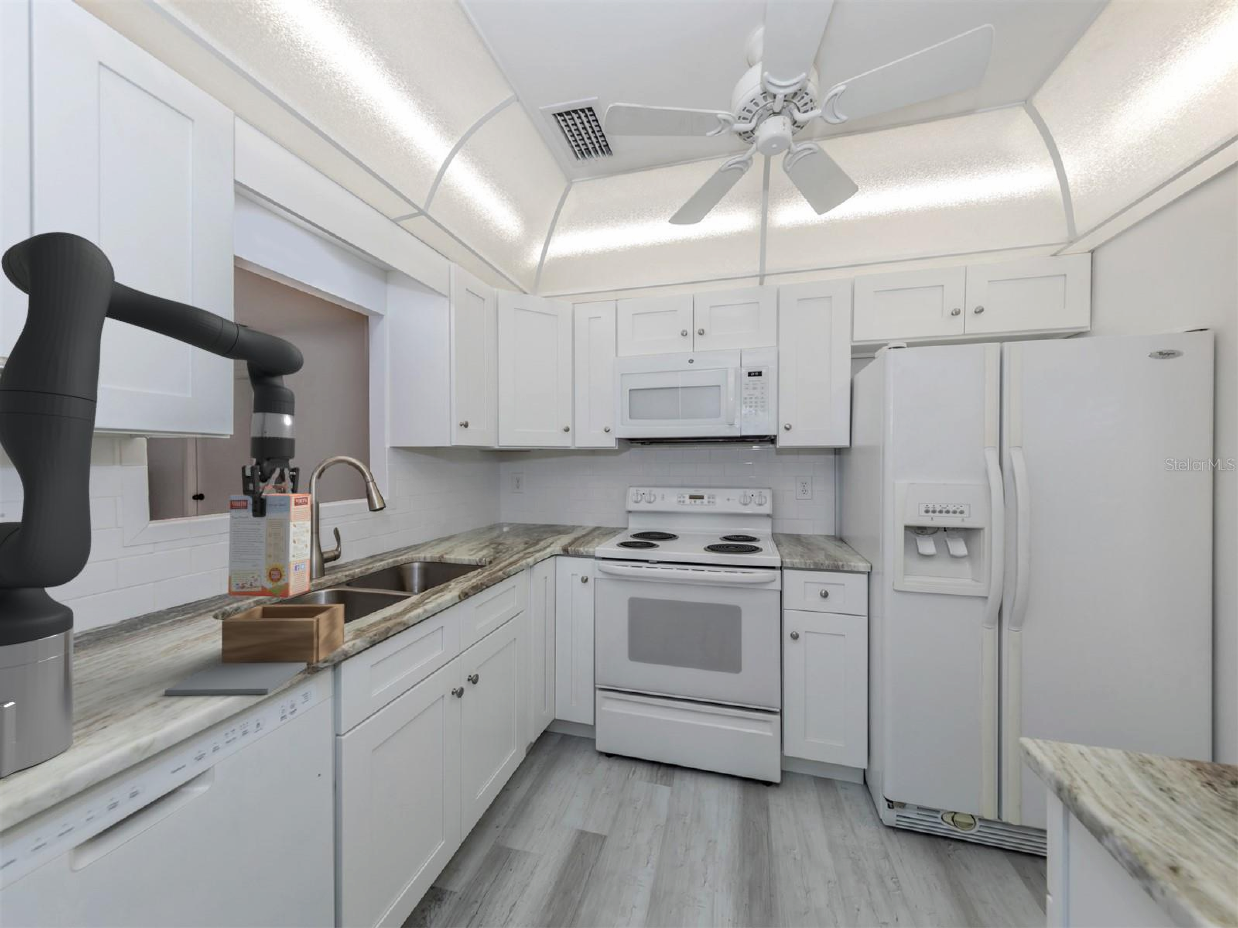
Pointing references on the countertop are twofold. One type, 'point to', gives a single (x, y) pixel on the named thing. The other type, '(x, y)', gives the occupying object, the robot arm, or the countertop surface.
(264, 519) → the cracker box
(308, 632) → the crate
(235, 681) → the pad
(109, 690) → the countertop surface
